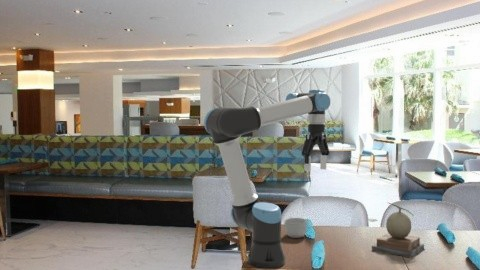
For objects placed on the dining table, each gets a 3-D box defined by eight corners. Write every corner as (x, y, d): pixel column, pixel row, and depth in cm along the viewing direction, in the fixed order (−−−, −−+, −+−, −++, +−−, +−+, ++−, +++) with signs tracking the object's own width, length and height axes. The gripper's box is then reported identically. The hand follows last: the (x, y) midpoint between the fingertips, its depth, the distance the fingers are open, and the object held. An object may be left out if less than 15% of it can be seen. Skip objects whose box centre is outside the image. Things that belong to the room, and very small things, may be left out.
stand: (410, 257, 208) (410, 245, 207) (371, 250, 218) (372, 239, 218) (424, 248, 221) (424, 237, 220) (387, 241, 231) (387, 231, 231)
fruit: (414, 242, 213) (415, 207, 212) (387, 240, 215) (387, 206, 214) (411, 235, 223) (412, 202, 222) (384, 234, 226) (385, 201, 225)
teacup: (307, 239, 235) (307, 222, 235) (284, 239, 236) (284, 222, 235) (304, 231, 249) (304, 216, 249) (282, 231, 249) (283, 216, 249)
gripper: (323, 123, 238) (322, 168, 239) (294, 123, 219) (293, 171, 220) (337, 124, 233) (336, 169, 234) (308, 123, 214) (307, 172, 215)
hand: (315, 170), depth 227 cm, fingers open, 13 cm apart
